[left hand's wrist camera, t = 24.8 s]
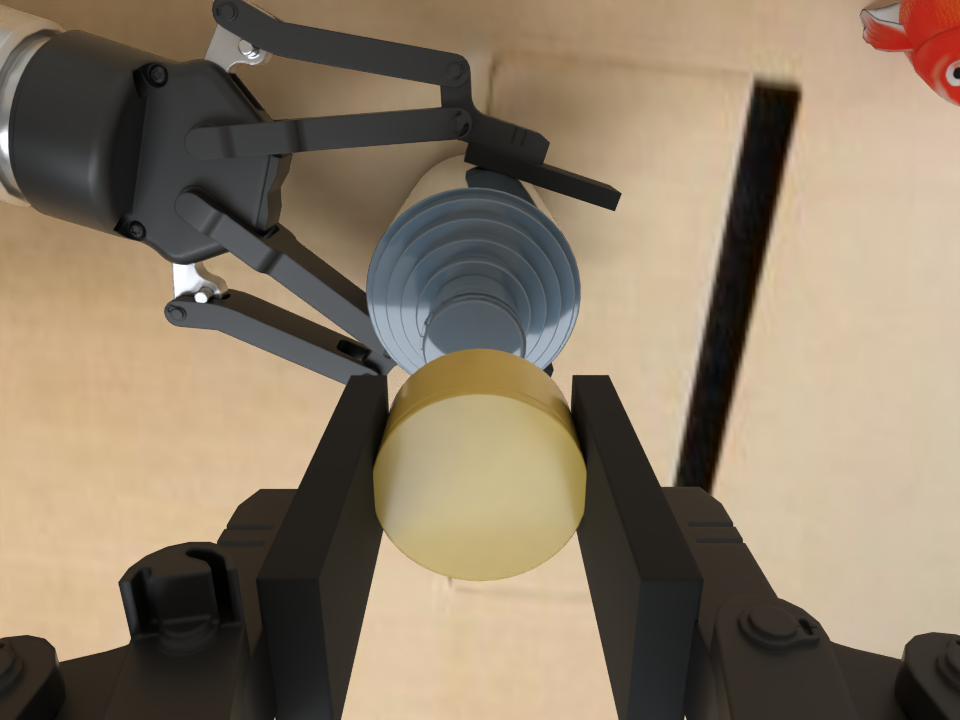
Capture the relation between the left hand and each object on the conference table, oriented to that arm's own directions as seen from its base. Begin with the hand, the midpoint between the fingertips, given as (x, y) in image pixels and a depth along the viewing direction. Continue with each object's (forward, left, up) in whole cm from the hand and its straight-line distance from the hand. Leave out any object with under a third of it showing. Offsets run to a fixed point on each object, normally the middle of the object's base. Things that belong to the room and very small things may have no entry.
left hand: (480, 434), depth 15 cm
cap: (0, 0, +2) cm, 2 cm away
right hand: (-4, -2, -17) cm, 17 cm away
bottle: (0, 0, -23) cm, 23 cm away
